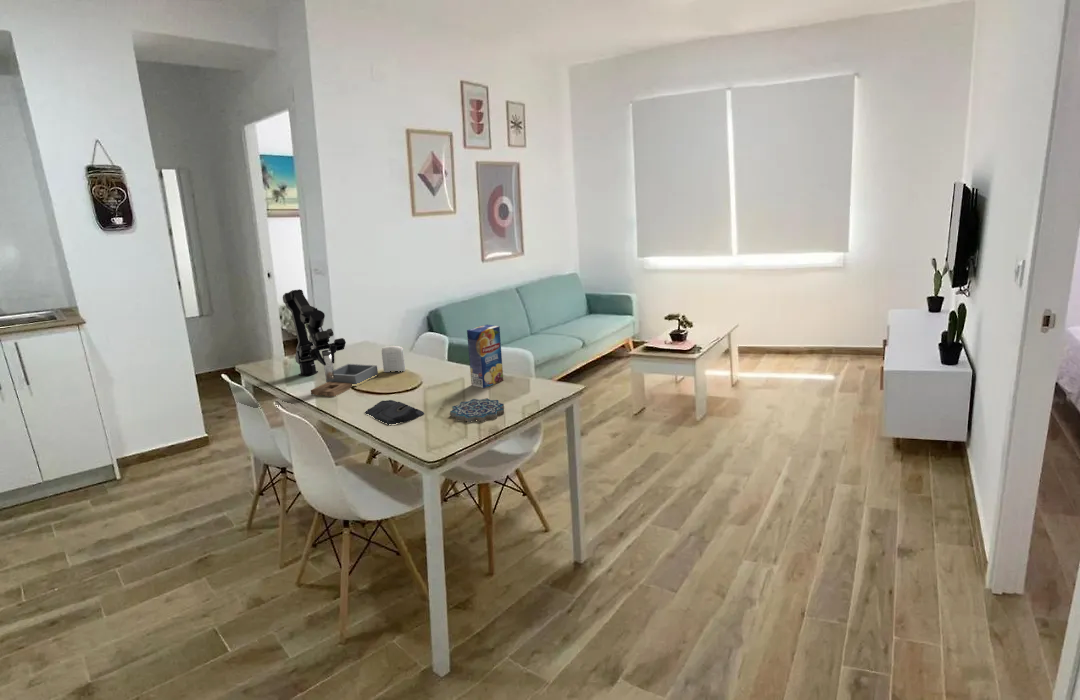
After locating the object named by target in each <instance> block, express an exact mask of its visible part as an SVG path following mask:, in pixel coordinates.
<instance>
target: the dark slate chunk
mask: <svg viewBox="0 0 1080 700" xmlns="http://www.w3.org/2000/svg"><path fill="white" fill-rule="evenodd" d="M364 413H366V414H369V415H371V416H373V417H374V418H375V419H378V420H380V421H382V422H384V423H387V424H388V425H389V424H396V423H400V422H403V423H408V422H411V421H414V420H415V419H418V418H419V417H421V416H423V415H425V413H424V411H422V410H420V409H418V408H415V407H414V406H410V405H408V404H406V403H403V402H401V401H395V400H392V399H388V400H381V401H379V402H377V403H376V404H374V405H373V406H372V407H370V408H367V410H366V411H365V412H364ZM366 414H365V415H366ZM375 419H374V420H375ZM410 420H411V421H410ZM407 421H408V422H407ZM382 422H381V423H382ZM384 423H383V424H384ZM400 424H401V423H400ZM388 425H387V426H388Z"/></svg>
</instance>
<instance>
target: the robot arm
mask: <svg viewBox="0 0 1080 700" xmlns="http://www.w3.org/2000/svg"><path fill="white" fill-rule="evenodd" d="M282 301H283V304H285V307H286V309H287V310H288V311H289V312H290V313H291V314H290V315H291V317H292V320H293V325H294V329H295V333H296V337H297V338H296V339H297V342H298V343H297V346H296V348H295V350H296V351H295V357H294V360H295V363H297V364H298V365H299V369H300V373H298V376H303V377H304V376H306V377H311V376H312V375H315V374H317V373H319V370H317V367H316V364H315V361H318V362H319V363H320V364H321V365H323V366H324V365H325V363H324V360H323V356H322V353H321V352H320V351H324V350H331V356H332V362H333V365H334V364H335V354H336V353H337V352H338V351H343V350H345V346H346V345H347V344H346V343H347V342H346V340H345V339H344V338H343V337H340V338H335V339H334V340H333V343H332V342H331V343H330V338H332V337H334V331H333V329H332V328H327V329H326V330H323V326H324V322H325V317H326V315H325V312H323V311H322V310H319V308H318V307H315V306H312V305H310V303H309V301H308V300H307V298H306V297H305V295H304V291H303V289H293V290H290V291H288V292H285V293H284V294H283V295H282ZM307 324H308V325H307ZM306 325H307V326H306ZM306 328H307V329H306ZM307 331H308V333H309V336H310V338H311V339H309V337H308V333H307Z"/></svg>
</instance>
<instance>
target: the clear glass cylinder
mask: <svg viewBox="0 0 1080 700" xmlns="http://www.w3.org/2000/svg"><path fill="white" fill-rule="evenodd" d="M321 356H322V358H323V360H324V363H325V365H323V368H324V369H323V370H324V375H325V380H326V379H334V378H335V376H334V370H335V369H334V364H333V362H332V356H331V350H329V349H324V350H321Z"/></svg>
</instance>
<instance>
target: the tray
mask: <svg viewBox="0 0 1080 700" xmlns="http://www.w3.org/2000/svg"><path fill="white" fill-rule="evenodd" d="M377 374H378V375H379V371H378V366H377V365H373V364H372V365H371V364H361V363H360V364H358V363H356V364H354V363H347V364H344V365H342V366H340V367H337V368H336V369H334V376H335V378H334V379H326V378H325V383H327V382H329V381H330V382H343V383H352V384H357V383H360V382H362V381H364V380H366V379H368V378H371V377H372V376H375V375H377Z"/></svg>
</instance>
